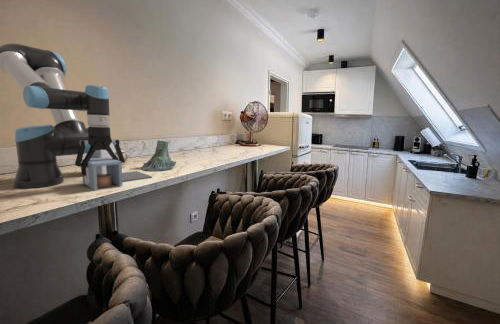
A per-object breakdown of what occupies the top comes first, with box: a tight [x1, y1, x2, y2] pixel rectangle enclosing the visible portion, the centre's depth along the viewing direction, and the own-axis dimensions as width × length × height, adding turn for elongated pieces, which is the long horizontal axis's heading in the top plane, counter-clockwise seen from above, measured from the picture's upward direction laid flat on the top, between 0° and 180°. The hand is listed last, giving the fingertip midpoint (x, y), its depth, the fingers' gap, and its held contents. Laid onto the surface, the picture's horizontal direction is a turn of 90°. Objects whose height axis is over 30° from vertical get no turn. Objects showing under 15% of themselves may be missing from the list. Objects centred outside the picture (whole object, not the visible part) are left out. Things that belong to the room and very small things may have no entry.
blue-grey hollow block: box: [81, 157, 123, 191], centre depth 100 cm, size 14×10×10 cm
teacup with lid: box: [115, 149, 129, 169], centre depth 138 cm, size 12×9×12 cm
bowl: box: [97, 174, 113, 188], centre depth 100 cm, size 7×7×4 cm
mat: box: [122, 170, 153, 183], centre depth 116 cm, size 16×14×1 cm
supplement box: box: [91, 143, 115, 174], centre depth 122 cm, size 9×9×15 cm
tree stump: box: [140, 140, 177, 172], centre depth 140 cm, size 18×20×18 cm
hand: (102, 181), depth 101 cm, fingers closed on blue-grey hollow block, 10 cm apart
